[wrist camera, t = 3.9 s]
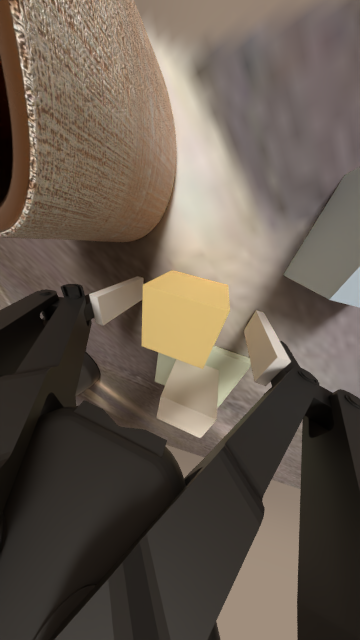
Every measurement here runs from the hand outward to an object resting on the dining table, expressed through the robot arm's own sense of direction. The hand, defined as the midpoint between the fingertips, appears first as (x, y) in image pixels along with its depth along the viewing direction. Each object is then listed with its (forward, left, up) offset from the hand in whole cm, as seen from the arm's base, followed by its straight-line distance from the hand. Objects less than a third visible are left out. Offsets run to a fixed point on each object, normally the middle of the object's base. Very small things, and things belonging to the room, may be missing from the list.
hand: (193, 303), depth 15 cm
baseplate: (+3, -11, 0) cm, 11 cm away
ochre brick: (0, 0, 0) cm, 0 cm away
